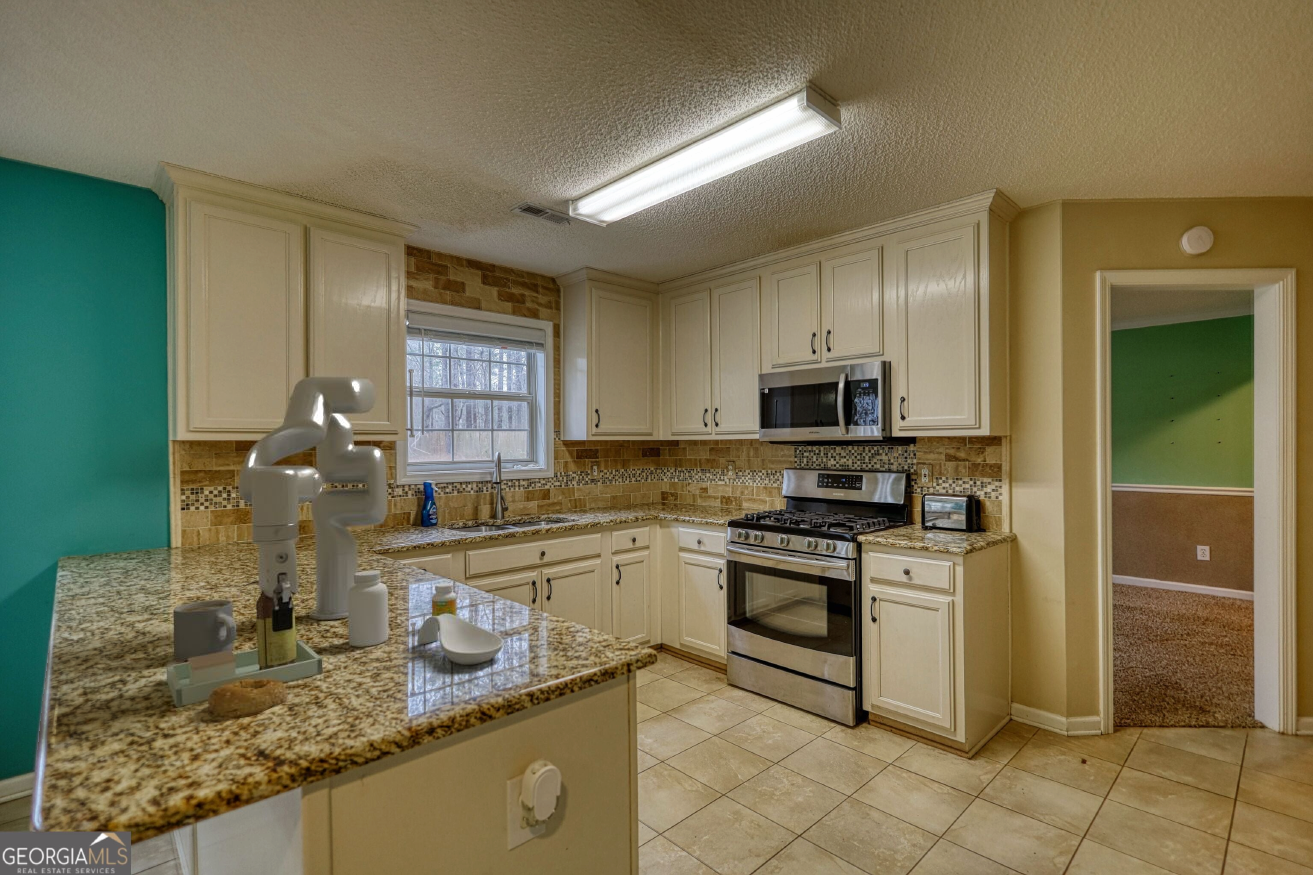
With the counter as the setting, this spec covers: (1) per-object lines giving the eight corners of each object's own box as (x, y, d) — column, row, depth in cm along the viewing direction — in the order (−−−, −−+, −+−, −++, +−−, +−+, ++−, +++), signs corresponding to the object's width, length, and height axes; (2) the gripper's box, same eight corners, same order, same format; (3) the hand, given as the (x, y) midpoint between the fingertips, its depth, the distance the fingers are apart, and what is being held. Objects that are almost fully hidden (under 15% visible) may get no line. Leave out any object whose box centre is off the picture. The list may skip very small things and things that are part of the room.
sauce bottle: (303, 664, 123) (303, 561, 123) (281, 676, 116) (280, 567, 117) (272, 663, 123) (271, 560, 124) (248, 675, 117) (247, 567, 117)
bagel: (280, 715, 101) (279, 684, 101) (198, 726, 97) (197, 695, 98) (294, 693, 110) (293, 665, 110) (220, 703, 107) (219, 674, 107)
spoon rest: (515, 659, 126) (515, 623, 126) (463, 676, 117) (463, 637, 117) (449, 637, 142) (449, 604, 142) (399, 650, 133) (399, 616, 133)
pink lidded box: (230, 675, 117) (230, 649, 118) (237, 684, 113) (236, 658, 113) (187, 684, 113) (187, 658, 113) (192, 694, 108) (192, 667, 108)
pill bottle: (339, 645, 136) (338, 574, 136) (369, 634, 143) (368, 567, 144) (367, 649, 133) (367, 577, 133) (396, 638, 140) (396, 569, 141)
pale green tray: (300, 655, 129) (300, 640, 129) (322, 675, 118) (322, 658, 118) (167, 683, 115) (166, 666, 115) (176, 709, 103) (176, 689, 103)
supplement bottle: (434, 630, 146) (433, 587, 146) (430, 624, 151) (430, 583, 151) (458, 627, 148) (457, 585, 149) (454, 621, 153) (453, 581, 153)
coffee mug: (164, 657, 130) (164, 608, 130) (218, 643, 138) (218, 597, 138) (196, 668, 123) (195, 616, 123) (251, 653, 131) (250, 604, 132)
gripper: (310, 536, 116) (310, 630, 116) (287, 527, 129) (288, 612, 129) (262, 540, 111) (263, 639, 111) (243, 531, 124) (244, 619, 124)
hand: (276, 624), depth 120 cm, fingers open, 9 cm apart
